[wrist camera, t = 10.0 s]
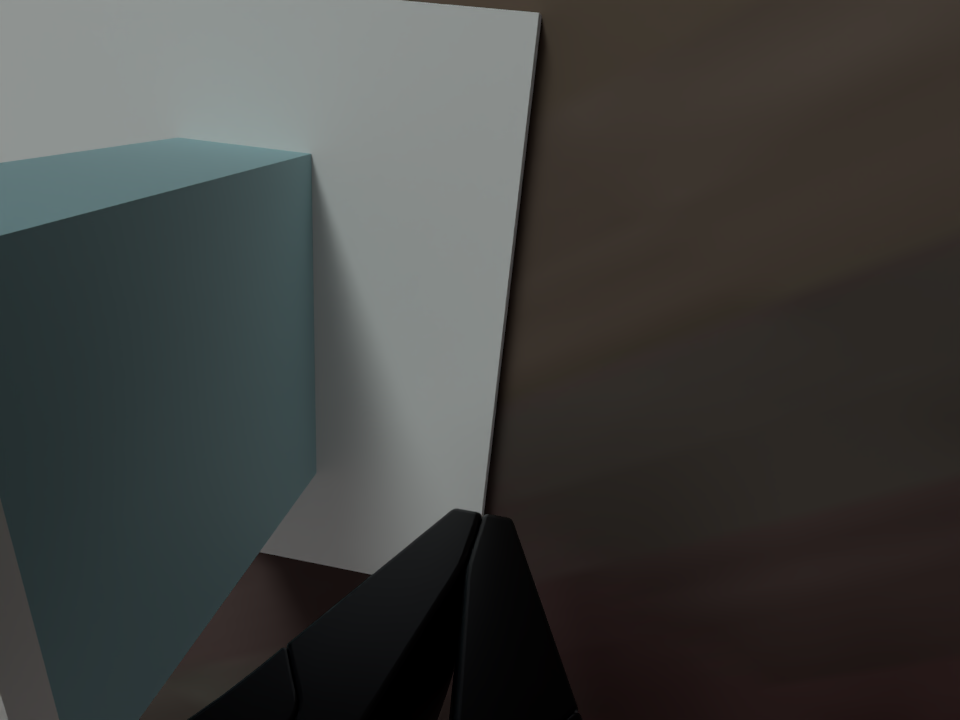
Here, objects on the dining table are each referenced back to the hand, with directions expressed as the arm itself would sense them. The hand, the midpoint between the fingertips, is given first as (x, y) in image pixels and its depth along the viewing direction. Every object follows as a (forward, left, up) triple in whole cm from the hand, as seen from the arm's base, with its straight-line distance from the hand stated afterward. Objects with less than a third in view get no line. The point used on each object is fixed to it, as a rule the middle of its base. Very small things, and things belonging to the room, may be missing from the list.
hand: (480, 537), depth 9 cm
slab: (+7, 0, -6) cm, 9 cm away
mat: (+9, 0, -7) cm, 11 cm away
